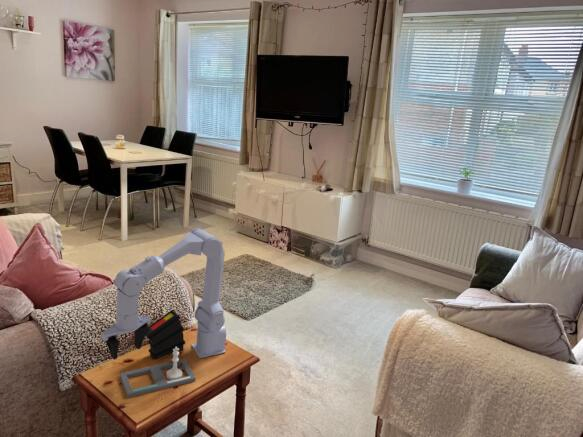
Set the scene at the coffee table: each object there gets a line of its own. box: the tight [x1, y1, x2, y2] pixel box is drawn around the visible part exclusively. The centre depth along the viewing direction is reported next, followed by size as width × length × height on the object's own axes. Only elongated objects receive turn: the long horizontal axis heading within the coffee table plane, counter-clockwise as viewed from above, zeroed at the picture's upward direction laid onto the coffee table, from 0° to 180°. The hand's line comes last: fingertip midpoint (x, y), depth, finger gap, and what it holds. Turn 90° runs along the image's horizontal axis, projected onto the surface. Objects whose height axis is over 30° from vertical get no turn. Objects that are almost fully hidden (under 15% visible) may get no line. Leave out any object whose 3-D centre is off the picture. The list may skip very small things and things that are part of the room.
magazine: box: [145, 309, 186, 361], centre depth 142 cm, size 4×13×15 cm, turn 133°
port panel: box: [119, 358, 196, 398], centre depth 132 cm, size 20×10×1 cm, turn 122°
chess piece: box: [165, 347, 183, 381], centre depth 133 cm, size 5×5×10 cm
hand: (125, 352), depth 126 cm, fingers open, 7 cm apart
